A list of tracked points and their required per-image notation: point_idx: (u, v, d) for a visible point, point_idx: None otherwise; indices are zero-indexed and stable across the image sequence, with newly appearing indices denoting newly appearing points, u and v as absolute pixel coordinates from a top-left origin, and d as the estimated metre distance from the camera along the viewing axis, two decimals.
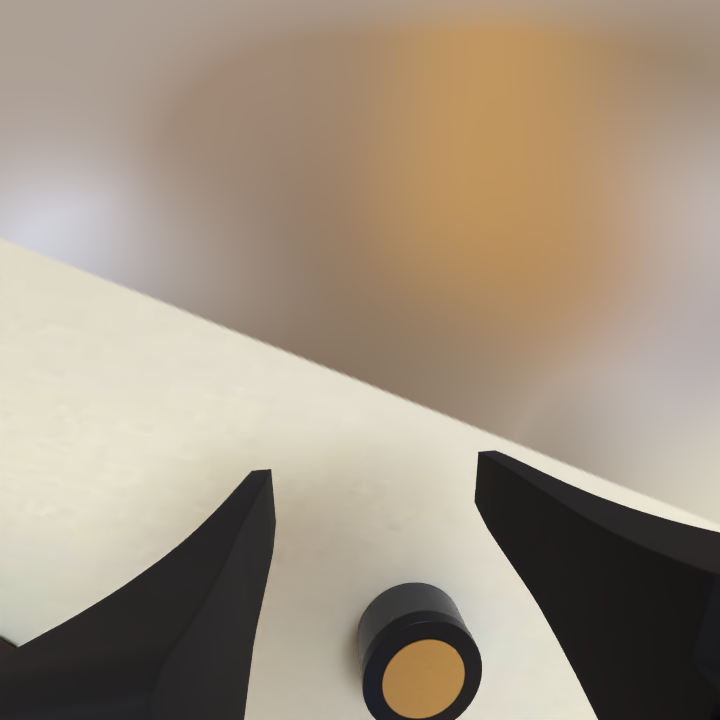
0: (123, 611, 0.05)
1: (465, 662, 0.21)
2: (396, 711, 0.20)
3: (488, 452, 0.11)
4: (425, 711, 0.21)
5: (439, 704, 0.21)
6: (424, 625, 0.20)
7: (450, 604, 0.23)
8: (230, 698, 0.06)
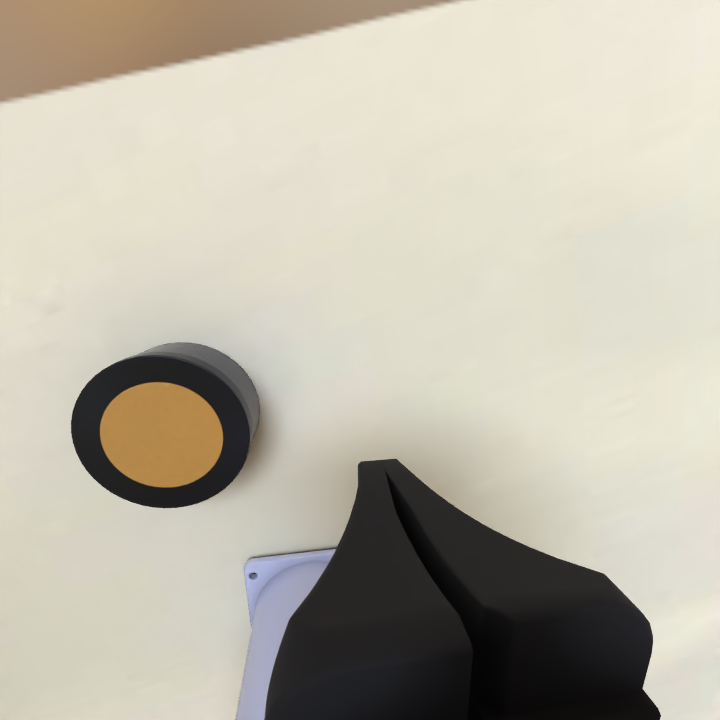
0: (359, 582, 0.05)
1: (196, 389, 0.15)
2: (166, 486, 0.16)
3: (387, 460, 0.11)
4: (202, 467, 0.16)
5: (209, 451, 0.16)
6: (101, 379, 0.14)
7: (178, 346, 0.16)
8: None
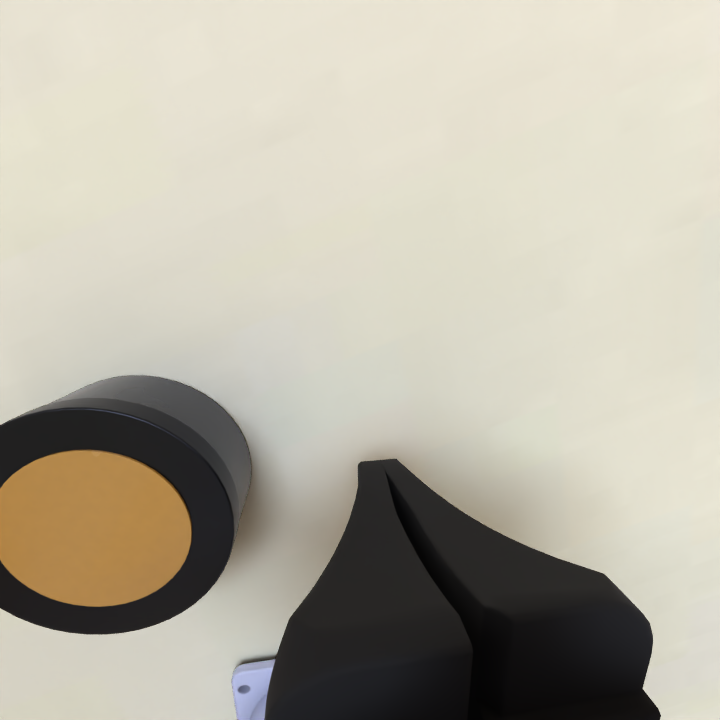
0: (360, 582, 0.05)
1: (145, 459, 0.09)
2: (103, 604, 0.10)
3: (387, 460, 0.11)
4: (161, 573, 0.10)
5: (169, 551, 0.10)
6: None
7: (125, 384, 0.11)
8: None
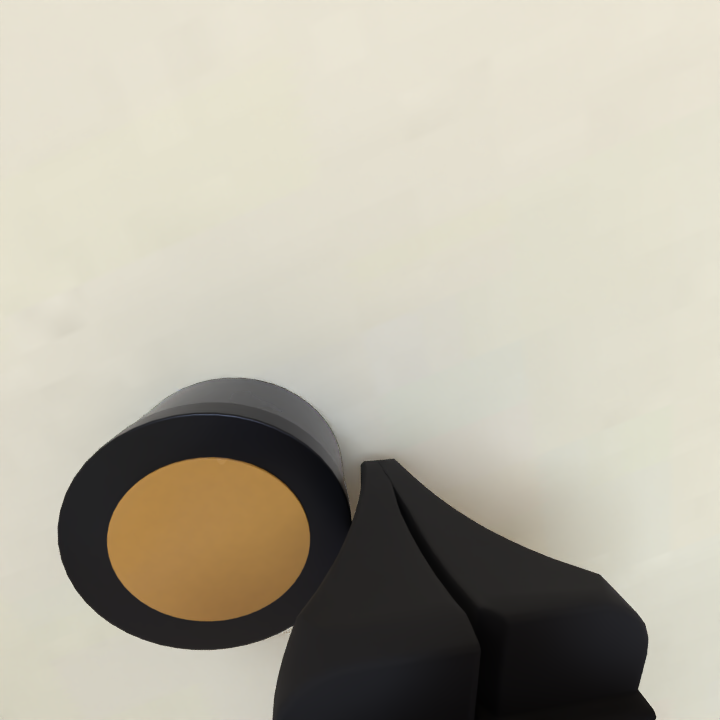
0: (365, 580, 0.05)
1: (270, 467, 0.09)
2: (214, 619, 0.10)
3: (385, 461, 0.11)
4: (274, 585, 0.10)
5: (286, 563, 0.09)
6: (108, 456, 0.08)
7: (230, 387, 0.10)
8: None
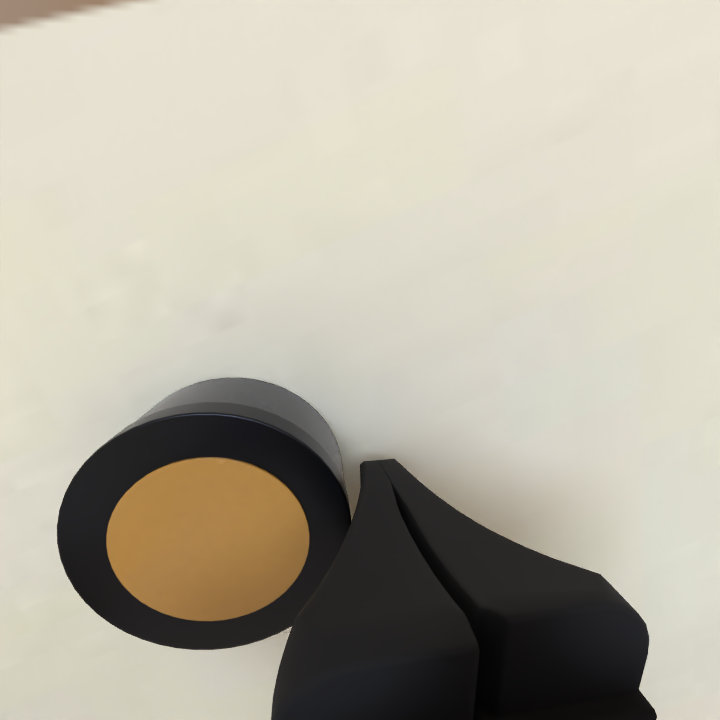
0: (364, 581, 0.05)
1: (269, 466, 0.09)
2: (214, 619, 0.10)
3: (385, 461, 0.11)
4: (274, 586, 0.10)
5: (286, 563, 0.09)
6: (108, 456, 0.08)
7: (229, 387, 0.10)
8: None
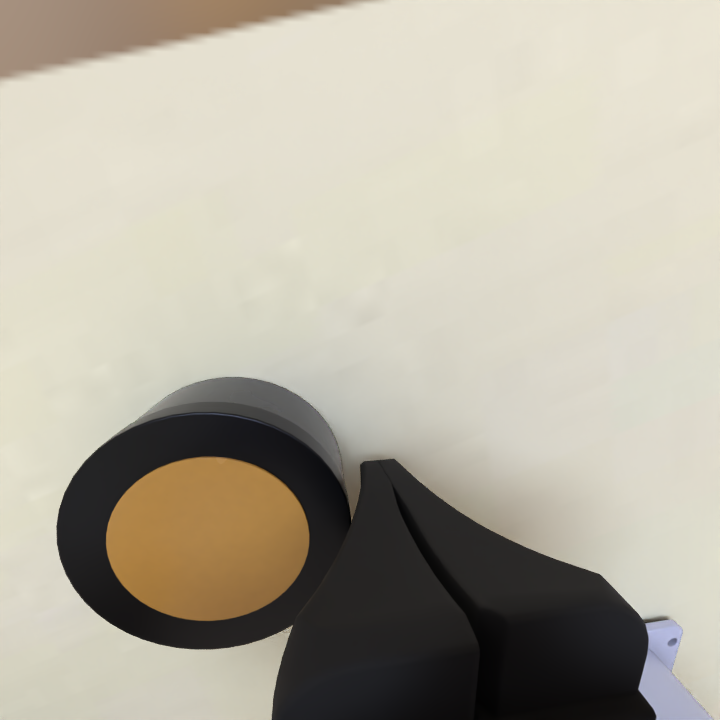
0: (365, 580, 0.05)
1: (269, 466, 0.09)
2: (213, 618, 0.10)
3: (385, 461, 0.11)
4: (273, 585, 0.10)
5: (285, 562, 0.09)
6: (108, 455, 0.08)
7: (229, 387, 0.10)
8: None
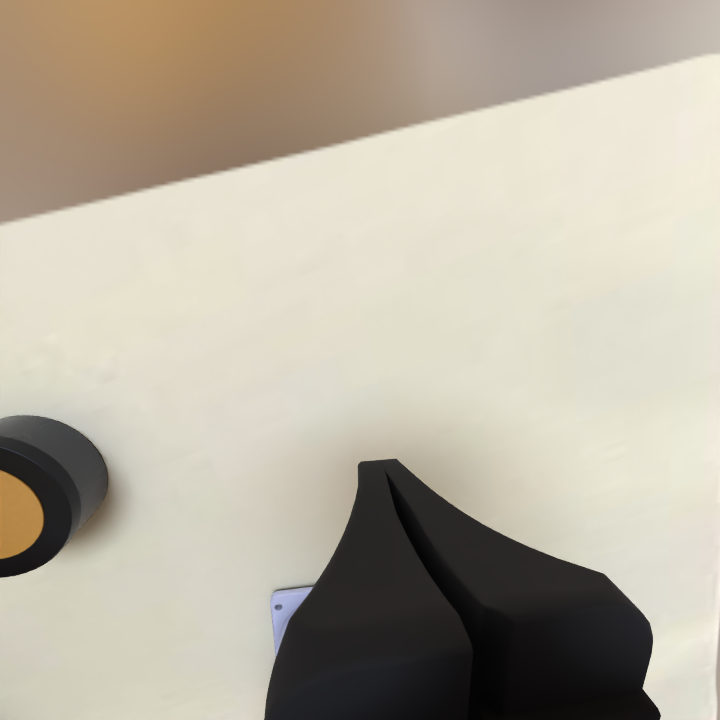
0: (360, 581, 0.05)
1: (10, 471, 0.16)
2: None
3: (387, 461, 0.11)
4: (27, 539, 0.17)
5: (30, 526, 0.17)
6: None
7: (9, 423, 0.17)
8: None
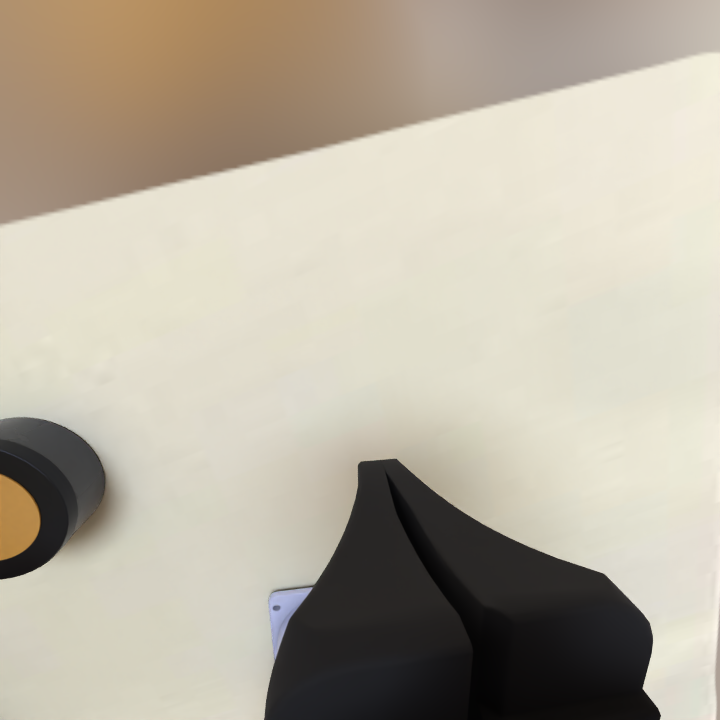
0: (360, 581, 0.05)
1: (6, 473, 0.16)
2: None
3: (387, 460, 0.11)
4: (24, 542, 0.17)
5: (27, 528, 0.17)
6: None
7: (5, 425, 0.17)
8: None
